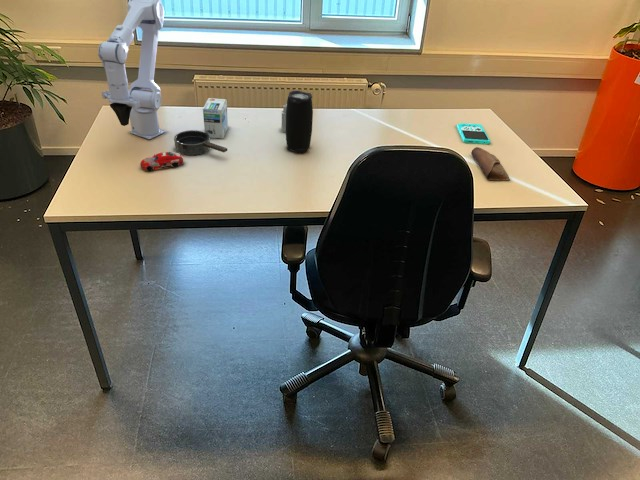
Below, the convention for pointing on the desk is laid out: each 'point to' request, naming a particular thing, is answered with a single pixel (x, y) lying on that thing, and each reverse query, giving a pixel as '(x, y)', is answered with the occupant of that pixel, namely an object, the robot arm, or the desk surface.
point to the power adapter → (284, 118)
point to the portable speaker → (299, 121)
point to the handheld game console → (473, 133)
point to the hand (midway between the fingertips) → (124, 124)
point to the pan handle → (215, 147)
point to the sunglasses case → (490, 165)
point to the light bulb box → (215, 117)
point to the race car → (162, 161)
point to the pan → (191, 142)
